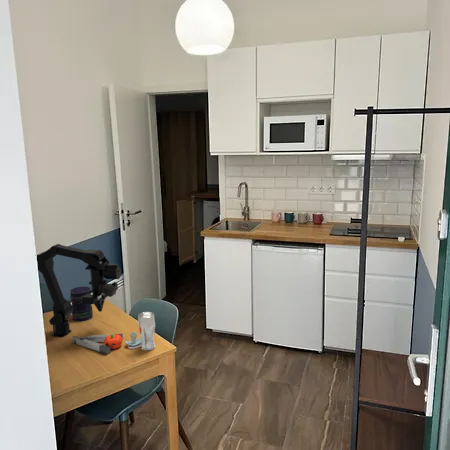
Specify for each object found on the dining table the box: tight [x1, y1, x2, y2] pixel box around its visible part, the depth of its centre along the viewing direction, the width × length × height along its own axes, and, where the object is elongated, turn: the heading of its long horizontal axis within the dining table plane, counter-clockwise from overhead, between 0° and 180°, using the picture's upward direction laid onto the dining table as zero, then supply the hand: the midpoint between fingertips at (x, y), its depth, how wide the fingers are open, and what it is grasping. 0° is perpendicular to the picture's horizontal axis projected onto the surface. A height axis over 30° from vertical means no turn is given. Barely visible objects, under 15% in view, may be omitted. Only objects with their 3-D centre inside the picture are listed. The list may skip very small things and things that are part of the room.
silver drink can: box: [137, 311, 156, 352], centre depth 177 cm, size 7×7×15 cm
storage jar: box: [69, 286, 94, 323], centre depth 208 cm, size 10×10×15 cm
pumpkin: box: [103, 333, 123, 350], centre depth 179 cm, size 7×8×6 cm
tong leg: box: [78, 333, 124, 343], centre depth 184 cm, size 19×2×3 cm, turn 93°
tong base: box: [72, 335, 111, 356], centre depth 178 cm, size 22×2×3 cm, turn 59°
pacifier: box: [124, 330, 142, 350], centre depth 179 cm, size 7×6×6 cm
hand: (100, 311), depth 188 cm, fingers closed
